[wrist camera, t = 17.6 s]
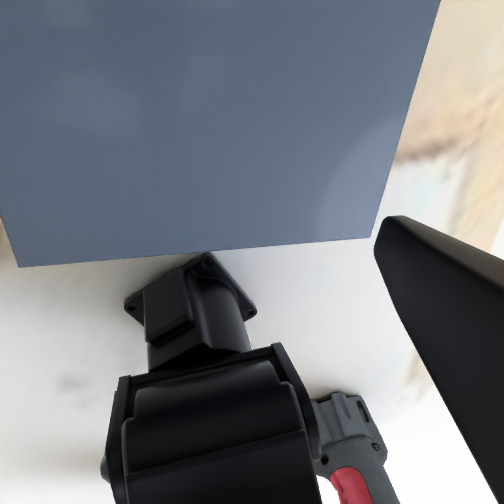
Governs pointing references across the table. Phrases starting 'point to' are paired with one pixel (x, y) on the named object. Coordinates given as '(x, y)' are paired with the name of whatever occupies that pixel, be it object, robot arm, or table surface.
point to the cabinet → (199, 122)
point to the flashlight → (352, 451)
